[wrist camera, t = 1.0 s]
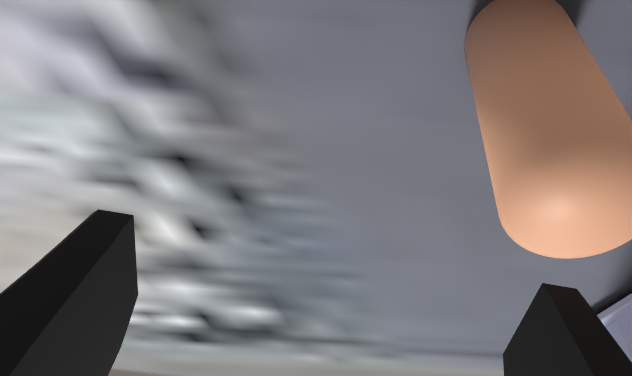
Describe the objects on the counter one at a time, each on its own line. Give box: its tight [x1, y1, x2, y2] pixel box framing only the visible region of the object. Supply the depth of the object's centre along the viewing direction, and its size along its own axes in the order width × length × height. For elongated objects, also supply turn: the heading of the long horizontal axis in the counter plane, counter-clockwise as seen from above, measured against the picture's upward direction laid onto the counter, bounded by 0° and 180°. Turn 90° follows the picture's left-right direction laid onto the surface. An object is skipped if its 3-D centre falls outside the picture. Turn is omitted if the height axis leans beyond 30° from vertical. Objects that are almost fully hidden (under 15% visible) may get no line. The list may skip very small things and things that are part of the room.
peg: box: [464, 0, 632, 258], centre depth 16 cm, size 3×3×8 cm
